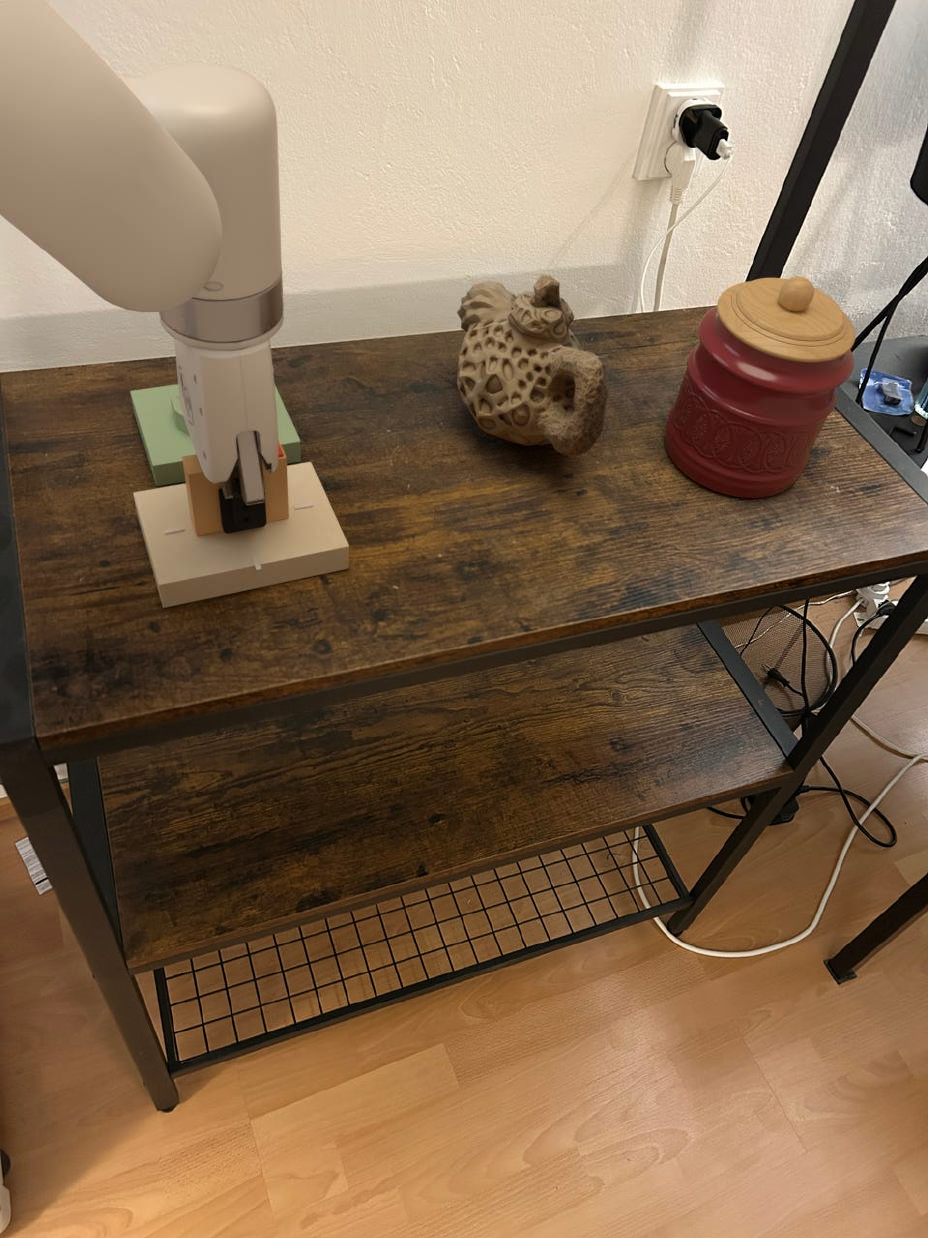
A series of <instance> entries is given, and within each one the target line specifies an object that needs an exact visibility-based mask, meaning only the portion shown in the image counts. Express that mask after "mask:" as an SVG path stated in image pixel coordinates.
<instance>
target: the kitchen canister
mask: <svg viewBox="0 0 928 1238" xmlns="http://www.w3.org/2000/svg"><path fill="white" fill-rule="evenodd" d="M697 329H698V330H697V331H698V338H699V342H698V343H697V344H696V345H694V346H693V348H692V349H691V350H690V353H689V354H688V358H687V362H686V369H685V373H684V375H683V378H682V380H681V381H682V382H681V385H680V388H679V389H678V390H679V391H678V394H677V397H676V399H675V402H674V404H673V405H672V407H671V409H670V411H669V414H668V417H667V419H666V424H665V436H664V445H665V448H666V452H667V454H668V456H669V458H670V460H672V462H673V464H674V465H675V466H676V467H677V468H678V469H679V471H681V472H682V473H683V474H684V475H686V476H687V477H688V478H690V479H691V480H693V481H694V482H695V483H697V484H699V485H701V486H703V487H705V488H707V489H708V490H711V491H714V492H717V493H720V494H723V495H727V496H730V497H731V496H732V497H737V498H745V499H759V498H769V497H772V496H775V495H778V494H781V493H782V492H784V491H786V490H788V489H789V488H790V487H791V486H792V485H793V484H794V483H795V481H796V480H797V479H798V478H799V477H800V476H801V474H802V473H803V472H804V470H805V468H806V465H807V464H808V462H809V460H810V457H811V451H812V450H813V447H814V445H815V443H816V441H817V439H818V437H819V435H820V433H821V431H822V429H823V426H824V425H825V423H826V420H827V418H828V416H829V415H831V413H832V412H833V411H834V409H835V407H836V405H837V402H838V389H837V388H838V387H840V386H841V385H843V384H844V383H845V382H846V381H847V380H848V379H849V378H850V376H851V374H852V373H853V371H854V363H855V360H854V355H853V352H852V350H851V349H852V347H853V346H854V344H855V342H856V330H855V326H854V324H853V323H852V321H851V319H850V318H849V316H848V315H847V314H846V313H845V312H844V311H843V310H842V309H841V307H840V305H838V303H837V302H836V301H835V300H834V299H833V298H832V297H831V296H830V295H828V294H826V293H825V292H823V291H822V290H820V289H818V288H817V287H814V285H813V283H812V281H811V280H809V279H808V278H806V277H804V276H801V275H796V276H791V277H789V278H781V277H762V278H756V279H754V280H750V281H743V282H739V283H736V284H734V285H731V286H729V287H728V288H727V289H725V290H724V291H723V292H722V293H721V294H720V296H719V298H718V300H717V304H716V305H715V306H714V307H712V308H710V309H708V310H707V311H706V312H705V314H704V315H703V316H702V318H701V319H700V321H699V324H698V328H697Z"/></svg>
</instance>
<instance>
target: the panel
mask: <svg viewBox="0 0 928 1238" xmlns="http://www.w3.org/2000/svg"><path fill="white" fill-rule="evenodd" d="M287 476H288V504H289V518H288V519H283V520H278V521H272V522H267V523H266V525H265V526H264V527H260V528H255V529H250V530H245V531H240V532H234V533H229V534H227V533H225V532H224V531H220V532H215V533H210V534H204V535H199V536H196V533H195V530H194V527H193V524H192V521H191V517H190V510H189V503H188V495H187V488H186V483H181V484H174V485H169V486H163V487H157V488H152V489H147V490H139V491H134V492H133V493H132V494H133V499H134V500H133V501H134V505H135V510H136V515H137V519H138V522H139V527H140V530H141V533H142V537H143V541H144V544H145V549H146V551H147V555H148V558H149V562H150V566H151V569H152V573H153V576H154V581H155V584H156V587H157V591H158V595H159V598H160V603H161V605H162V608H163V609H165V608H170V607H174V606H175V607H176V606H179V605H185V604H188V603H193V602H197V601H198V602H199V601H203V600H207V599H208V600H209V599H212V598H217V597H221V596H226V595H230V594H231V595H232V594H235V593H240V592H246V591H251V590H255V589H259V588H260V589H261V588H264V587H267V586H273V585H277V584H283V583H287V582H292V581H297V580H301V579H306V578H311V577H316V576H320V575H324V574H329V573H335V572H338V571H344V570H348V569H349V566H350V564H349V562H350V545H349V542H348V540H347V538H346V536H345V534H344V532H343V531H344V530H342V527H341V525H340V522H339V520H338V518H337V516H336V514H335V511H334V510H333V507H332V505H331V503H330V501H329V499H328V495H327V494H326V492H325V489H324V487H323V485H322V483H321V481H320V478H319V476H318V474H317V471H316V469H315V468H314V465H313V463H312V461H307V462H300V463H294V464H290V465H287Z"/></svg>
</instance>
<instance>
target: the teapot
mask: <svg viewBox="0 0 928 1238" xmlns="http://www.w3.org/2000/svg"><path fill="white" fill-rule="evenodd" d="M560 285H561V284H560V282H559V281H557V280H556V279H555V278H554V277H552V276H551V275H549V274H541V275H540V276H539V277H538V278H537V279H536V282H535V284H534V285H533V291H531V290H529V291H524V292H519V293H518V294H517V295H516V294H515V293H514V292H512V291H510V290H508V289H506V288H505V286H504V284H503V283H502V282H498V281H495V280H494V281H493V280H487V281H483V282H478V283H475V284H473V285H471V287H470V289H469V290H468V291H466V295H464V296H463V297H461V300H460V301H461V304H460V307H459V308H458V309H457V311H456V313H457V315H458V318H459V319H460V321H461V323H460V329H461V330H463V331H465V332H466V333H465V335H464V337H463V340H462V344H461V348H460V351H459V354H458V363H457V375H456V377H457V378H456V385H457V389H458V393H459V395H460V398H461V400H462V402H463V404H464V405H465V407H466V408H467V410H468V411H469V413H470V414H471V416H472V417H473V419H474V420H475V422H476V424H477V425H478V428H479V429H480V430H482V431H484V432H485V433H487V434H489V435H491V436H494V437H496V438H500V439H502V440H504V441H506V442H508V443H515V444H518V445H521V446H525V447H530V446H535V445H536V446H537V445H538V446H545V445H550V444H551V445H552V447H553V448H554V450H555V451H556V452H558V453H559V454H561V455H566V456H578V455H583V454H586V453H587V452H589V450H590V449H591V448H593V446H594V445H595V444H596V442H598V439H599V438H600V437H601V435H602V432H603V428H604V425H605V414H606V406H607V401H608V396H609V387H608V384H607V381H606V369H607V368H606V365H605V364H604V363H603V362H602V360H601V357H600V356H599V355H598V354H596V353H593V352H592V351H587V350H586V351H585V350H584V349H583V347H582V345H581V344H580V342H579V339H577V337H576V336H575V334H574V333H573V332H572V330H571V329H570V326H571V324H572V322H573V321H574V319H575V315H574V312H573V311H572V308H571V307H570V305H569V304H568V302H567V301H566V300H565V299H564V298H563V297H561V296H560Z"/></svg>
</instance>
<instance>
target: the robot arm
mask: <svg viewBox="0 0 928 1238" xmlns="http://www.w3.org/2000/svg"><path fill="white" fill-rule="evenodd" d="M271 95H272V94H271V93H270V91H269V90H268V89H267V88H266V86H265V85H264V83H262V82H261V81H260V80H259V79H258V78H256V77H255V76H254V75H252V74H251V73H249V72H247V71H245V70H243V69H241V68H237V67H234V66H231V65H227V64H222V63H217V62H209V61H182V62H176V63H168V64H164V65H161V66H158V67H156V68H153V69H151V70H149V71H148V72H147V73H145V74H143V75H140V76H131V77H130V76H128V77H127V76H126V77H119V75H118V74H117V73H116V72H115V71H114V70H113V69H112V68H111V67H110V66H109V65H108V64H107V63H106V61H104V60H103V59H102V58H101V56H100V55H99V54H98V53H97V52H96V51H95V50H94V49H93V48H92V47H91V46H90V45H89V44H88V43H87V42H86V41H85V40H84V39H83V38H82V36H80V35H79V34H78V33H77V31H76V30H74V29H73V28H72V27H71V25H70V24H68V22H67V21H66V20H65V19H64V18H63V17H61V15H60V14H59V13H58V12H57V11H56V10H54V8H52V6H50V4H48V2H47V1H46V0H0V216H1V217H2V218H3V219H4V220H6V221H7V222H8V223H9V224H10V225H12V226H13V227H14V228H15V229H17V230H18V231H19V232H21V233H22V234H23V235H24V236H26V237H27V238H28V239H29V240H30V241H32V242H33V243H34V244H35V245H36V246H37V247H39V248H40V249H41V250H43V251H45V252H46V253H47V254H48V255H49V256H51V257H52V258H53V259H54V260H56V262H58V264H60V265H62V267H64V268H65V269H66V270H68V272H70V273H71V274H72V275H74V276H75V278H77V279H78V280H79V281H80V282H82V283H83V284H84V285H85V286H86V287H88V288H89V290H91V291H92V292H93V293H94V294H96V295H97V296H98V297H100V298H101V299H102V300H104V301H105V302H107V303H109V304H111V305H113V306H115V307H119V308H121V309H124V310H126V311H131V312H138V313H158V315H159V321H160V324H161V327H162V328H163V329H164V331H165V332H166V333H167V334H169V335H170V336H171V337H172V338H173V343H174V353H175V355H174V356H175V363H176V364H175V365H176V375H177V384H178V389H179V399H180V405H181V409H182V413H183V416H184V419H185V423H186V426H187V429H188V432H189V434H190V437H191V440H192V443H193V446H194V449H195V452H196V455H197V457H198V460H199V463H200V466H201V468H202V471H203V473H204V475H205V477H206V478H207V479H208V480H209V481H211V482H212V483H218V482H222V489H218V493H219V502H220V512H221V521H222V527H223V530H224V532H225V533H227V534H229V533H234V532H240V531H245V530H250V529H255V528H260V527H264V526H265V525H266V523H267V521H266V504H265V488H264V479H263V464H264V466H265V468H266V471H269V472H270V473H273V472H274V471H275V469H276V468H277V466H278V455H279V446H278V425H277V409H276V397H275V386H276V384H275V385H274V383H275V375H274V373H275V368H274V366H273V365H274V364H273V356H272V347H271V338H272V337H274V336H275V335H276V334H277V333H278V332H279V331H280V329H281V328H282V326H283V324H284V320H285V319H284V318H285V316H284V315H285V314H284V313H285V312H284V309H285V307H284V285H283V284H284V283H283V281H284V280H283V265H282V263H283V262H282V261H283V260H282V228H281V197H280V196H281V195H280V168H279V167H280V166H279V138H278V137H279V136H278V134H279V133H278V132H279V131H278V119H277V111H276V106H275V103H274V100H273V97H272V96H271ZM262 461H263V464H262ZM235 471H239V472H240V477H239V478H233V479H232V478H231V473H232V472H235Z"/></svg>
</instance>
